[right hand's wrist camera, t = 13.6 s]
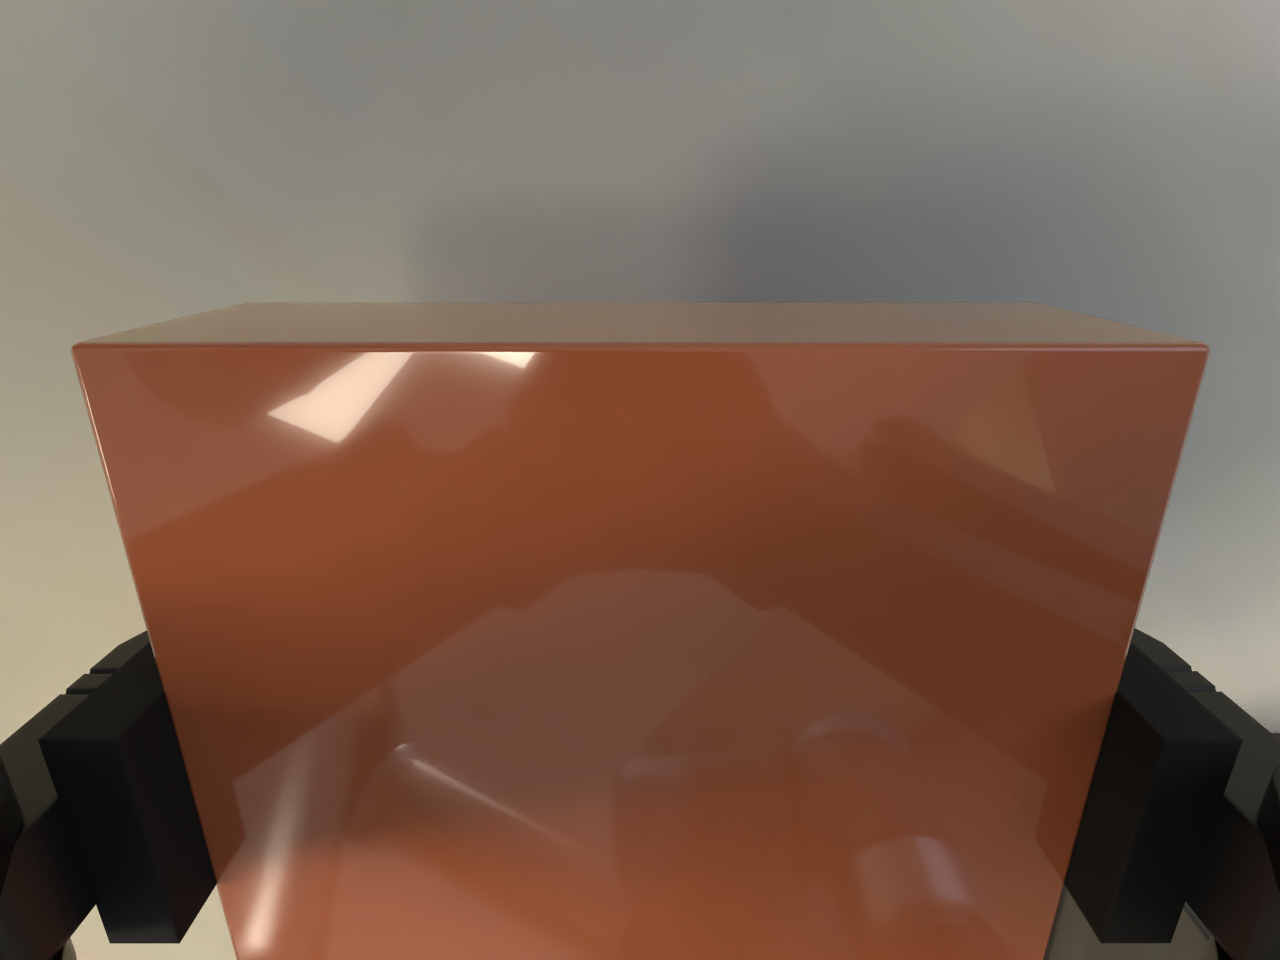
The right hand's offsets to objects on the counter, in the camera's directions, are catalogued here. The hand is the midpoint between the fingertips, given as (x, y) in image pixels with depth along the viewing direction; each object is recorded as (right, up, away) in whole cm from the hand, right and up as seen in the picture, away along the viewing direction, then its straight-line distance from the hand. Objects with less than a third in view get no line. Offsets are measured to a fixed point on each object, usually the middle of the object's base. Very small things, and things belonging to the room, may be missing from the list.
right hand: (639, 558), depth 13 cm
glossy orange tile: (0, -1, -2) cm, 2 cm away
